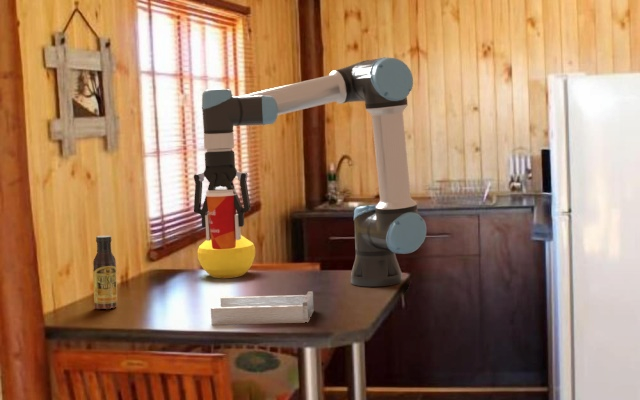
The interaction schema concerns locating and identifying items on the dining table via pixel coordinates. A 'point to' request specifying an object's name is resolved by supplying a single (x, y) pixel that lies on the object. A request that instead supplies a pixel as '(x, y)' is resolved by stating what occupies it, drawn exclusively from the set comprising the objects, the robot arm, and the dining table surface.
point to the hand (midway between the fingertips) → (223, 239)
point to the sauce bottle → (104, 275)
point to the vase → (227, 259)
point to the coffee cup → (222, 218)
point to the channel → (263, 309)
